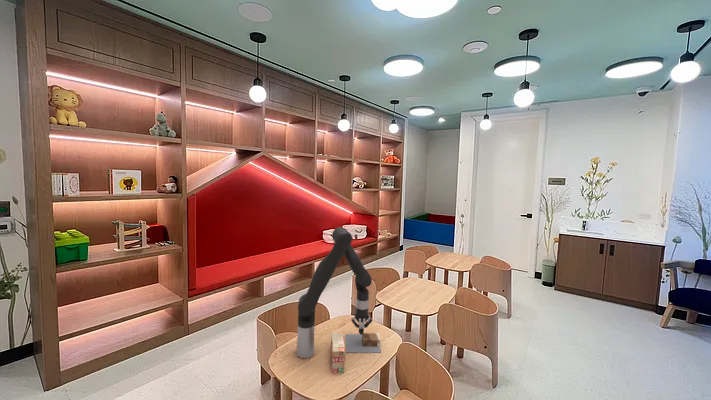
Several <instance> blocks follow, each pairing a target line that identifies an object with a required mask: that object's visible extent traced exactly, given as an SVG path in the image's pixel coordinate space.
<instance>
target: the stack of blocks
mask: <svg viewBox="0 0 711 400" xmlns="http://www.w3.org/2000/svg"><path fill="white" fill-rule="evenodd" d="M330 356H331V374H342V373H345V356H346V346H345V340H344V337H343V334H342V332H331V333H330Z"/></svg>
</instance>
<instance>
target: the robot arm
mask: <svg viewBox="0 0 711 400" xmlns="http://www.w3.org/2000/svg"><path fill="white" fill-rule="evenodd" d="M331 235H332V237H331V238H332V240H333V242H334V244H333V247H332V248H331V250H330V252H329V254H327V255H326V256H325V257H324V258H323V259H322V260H321V261H319V264H318V265H317V267H316V269H315V271H314V273H313V276H312V278H311V282H310V285H309V288H308V290H307V292H306V293H304V294H302V295H301V296H300V298H299V299H298V304H297V310H298V311H297V312H298V314H297V315H298V316H297V338H296V357H297V358H298V357H299V358H301V359H308V358H311V357H313V356H314V354H315V326H316V325H315V323H316V322H315V321H316V306H317V304H318V302H319V300H320V297H321V295H322V294H323V292H324V290H325V288H327V285H328V284H329V282H330V280H331V279H332V277H333V275H334V274H335V273H334V272H335V270H336V268H337V267H338V266H339V263H340V262H341V259H342V258H343V256H344V257H345V260H346V261H347V264H348V265H349V268H350V270H351V271H352V273H353V274H354V275H355V278H354V282H355V283H354V285H355V288H356V289H355V290H356V301H355V314H354V317H351V320H350V321H351V323H352V324H353V325H354V326H355V328H358V334H362V333H365V331H364V329H367V328H368V327H369V326H370V325H371V323H372V322H373V318H372V317H370V315H369V309H370V308H369V304H370V303H369V298H370V293H369V289H368V288H369V287H370V286H371V285H372V283H373V280H372V279H373V278H372V276H371V275H370V273H369V271H368V270H367V269H366V268H365V266H364V264H363V263H362V260H361V258H360V257H359V255H358V253H357V252H356V250H355V248H354V247H353V246H352V242H353V241H352V240H353V235H352V234H351V233H350V232H349V230H348V229H346V228H345V227H343V226H338V227H336V228H334V229H333V231H332V234H331Z"/></svg>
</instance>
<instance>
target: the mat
mask: <svg viewBox="0 0 711 400" xmlns="http://www.w3.org/2000/svg"><path fill="white" fill-rule="evenodd" d="M344 337H345V354H377V353H378V354H382V349H381V345H380V346H363V343H362V334H360V333H355V334H353V333H350V334H349V333H345V334H344Z"/></svg>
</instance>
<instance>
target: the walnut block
mask: <svg viewBox="0 0 711 400" xmlns="http://www.w3.org/2000/svg"><path fill="white" fill-rule="evenodd" d="M362 343H363V346H380V347H381V338H380V334H379V332H378V333H377V332H376V333H375V332H364V333H362Z"/></svg>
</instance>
